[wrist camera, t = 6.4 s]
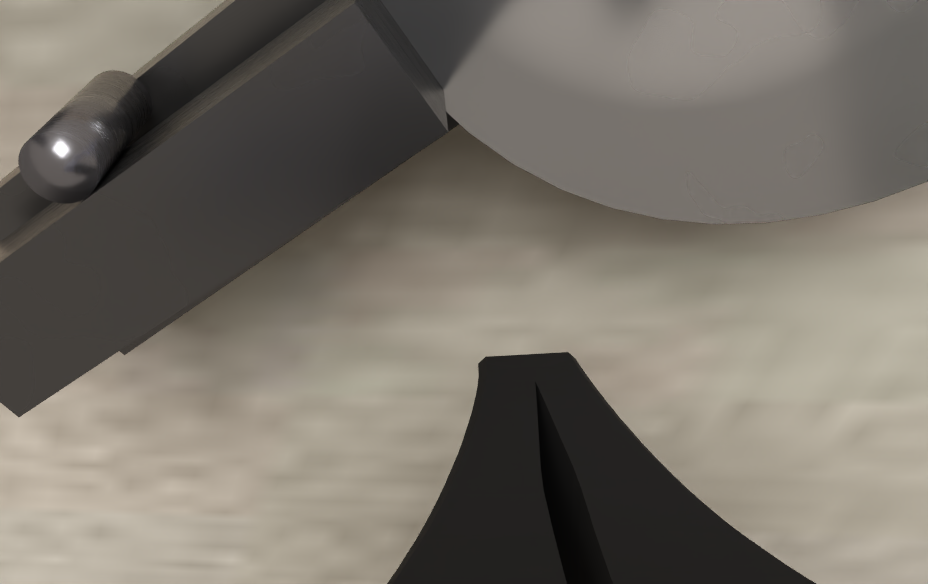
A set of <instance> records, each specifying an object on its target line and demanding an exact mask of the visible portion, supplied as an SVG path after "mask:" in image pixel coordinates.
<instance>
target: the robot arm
mask: <svg viewBox="0 0 928 584" xmlns="http://www.w3.org/2000/svg"><path fill="white" fill-rule="evenodd" d="M478 368H479V379H478V387H477V393H476V398H475V402H474V406H473V410H472V414H471V417H470V420H469V423H468V426H467V429H466V433H465V436H464V439H463V442H462V445H461V447H460V450H459V453H458V455H457V458H456V460H455V462H454V465H453V467H452V469H451V472H450V474H449V476H448V479H447V481H446V483H445V486H444V488H443V490H442V492H441V494H440V496H439V498H438V500H437V502H436V504H435V506H434V508H433V510H432V512H431V514H430V516H429V518H428V520H427V521H426V523H425V525H424V527H423V529H422V530H421V532H420V534H419V536H418V537H417V539H416V541H415V542H414V544H413V545H412V547H411V548H410V550H409V552H408V553H407V555H406V556H405V558H404V560H403V561H402V563H401V564H400V566H399V568H398V569H397V570H396V572H395V573H394V575H393V576H392V578H391V579H390V581H389V582H388V583H387V584H816V583H814V582H813V581H811V580H809V579H807V578H806V577H804V576H803V575H801V574H800V573H798V572H796V571H795V570H793V569H792V568H790V567H789V566H787V565H785V564H784V563H783V562H781V561H780V560H778V559H777V558H775V557H774V556H772V555H771V554H770V553H768V552H767V551H765V550H764V549H762V548H761V547H760V546H758V545H757V544H755V543H754V542H752V541H751V540H749V539H748V538H747V537H745V536H744V535H742V534H741V533H740V532H738V531H737V530H736V529H734V528H733V527H732V526H731V525H729V524H728V523H727V522H725V521H724V520H723V519H722V518H720V517H719V516H718V515H717V514H716V513H715V512H713V511H712V510H711V509H710V508H709V507H707V506H706V505H705V504H704V503H703V502H701V501H700V500H699V499H698V498H697V497H696V496H695V495H694V494H693V493H691V492H690V491H689V490H688V489H687V488H686V487H685V486H684V485H683V484H682V483H681V482H680V481H679V480H677V479H676V478H675V477H674V476H673V475H672V474H671V473H670V472H669V471H668V470H667V469H666V468H665V467H664V466H663V465H662V464H661V463H660V462H659V461H658V460H657V459H656V458H655V457H654V455H653V454H652V453H651V452H650V451H649V450H648V449H647V448H646V447H645V446H644V445H643V444H642V443H641V441H640V440H639V439H638V438H637V437H636V436H635V435H634V434H633V432H632V431H631V430H630V429H629V428H628V427H627V426H626V424H625V423H624V422H623V421H622V420H621V419H620V418H619V416H618V415H617V414H616V413H615V411H614V410H613V409H612V408H611V407H610V405H609V404H608V403H607V402H606V400H605V399H604V398H603V396H602V395H601V394H600V393H599V391H598V390H597V389H596V387H595V386H594V385H593V383H592V382H591V381H590V379H589V378H588V376H587V375H586V374H585V372H584V371H583V369H582V368H581V366H580V365H579V363H578V362H577V360H576V359H575V358H574V357H573V356H572V355H571V354H570V353H568V352H564V353H546V354H529V355H511V356H493V357H485V358H484V359H483V360H482V361H481V362H480V363H479V364H478Z"/></svg>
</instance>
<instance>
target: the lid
mask: <svg viewBox="0 0 928 584" xmlns="http://www.w3.org/2000/svg"><path fill="white" fill-rule="evenodd" d="M446 112H447V113H448V114H449V115H450V116H452V117H453V118H454V119H455V120H456V121H457V122H458V123H459V124H460V125H461V126H462V127H463V128H464V129H465V130H466V131H468V132H469V133H470V134H472V135H473V136H474V137H476V138H477V139H479V140H480V141H481V142H483V143H484V144H486V145H487V146H488V147H490V148H491V149H493V150H494V151H495V152H497V153H498V154H500V155H501V156H502V157H504V158H505V159H507V160H508V161H509V162H511V163H512V164H514V165H516V166H517V167H519V168H521V169H523V170H525V171H527V172H529V173H531V174H533V175H535V176H536V177H538V178H540V179H542V180H544V181H546V182H548V183H550V184H552V185H553V186H555V187H557V188H559V189H561V190H564V191H567V192H569V193H572V194H575V195H577V196H580V197H583V198H586V199H588V200H591V201H594V202H596V203H599V204H602V205H605V206H607V207H610V208H614V209H619V210H623V211H628V212H632V213H636V214H641V215H645V216H650V217H654V218H658V219H665V220H675V221H686V222H696V223H707V224H739V223H769V222H776V221H783V220H790V219H796V218H803V217H810V216H817V215H823V214H827V213H830V212H834V211H838V210H842V209H846V208H850V207H854V206H857V205H861V204H865V203H869V202H873V201H876V200H879V199H881V198H884V197H887V196H889V195H892V194H895V193H897V192H900V191H903V190H905V189H908V188H911V187H913V186H916V185H919V184H922V183H924V182H927V181H928V0H326V1H325V2H323V3H322V4H321V5H319V6H318V7H317V8H315V9H314V10H313V11H311V12H310V13H309V14H307V15H306V16H304V17H303V18H302V19H300V20H299V21H298V22H296V23H295V24H294V25H292V26H291V27H290V28H288V29H287V30H286V31H284V32H283V33H282V34H280V35H279V36H277V37H276V38H275V39H273V40H272V41H271V42H269V43H268V44H267V45H265V46H264V47H263V48H261V49H260V50H259V51H257V52H256V53H254V54H253V55H252V56H250V57H249V58H248V59H246V60H245V61H244V62H242V63H241V64H240V65H238V66H237V67H236V68H234V69H233V70H232V71H230V72H229V73H227V74H226V75H225V76H223V77H222V78H221V79H219V80H218V81H217V82H215V83H214V84H213V85H211V86H210V87H209V88H207V89H206V90H204V91H203V92H202V93H200V94H199V95H198V96H196V97H195V98H194V99H192V100H191V101H190V102H188V103H187V104H186V105H184V106H183V107H182V108H180V109H179V110H177V111H176V112H175V113H173V114H172V115H171V116H169V117H168V118H167V119H165V120H164V121H163V122H161V123H160V124H159V125H157V126H156V127H154V128H153V129H152V130H150V131H149V132H148V133H146V134H145V135H144V136H142V137H141V138H140V139H138V140H137V141H136V142H134V143H133V144H132V145H130V146H129V147H127V148H126V149H125V150H124V151H123V153H122V154H121V155H120V157H119V158H118V159H117V161H116V162H115V163H114V164H113V166H112V167H111V168H110V170H109V171H108V172H107V174H106V175H105V176H104V177H103V179H102V180H101V181H100V183H99V184H98V185H97V187H96V188H95V189H94V190H93V192H92V193H91V194H90V195H89V196H88V197H87V198H85V199H84V200H81V201H79V202H76V203H71V204H62V203H56V202H53V203H52V204H50V205H49V206H48V207H46V208H45V209H44V210H42V211H41V212H40V213H38V214H37V215H36V216H34V217H33V218H32V219H30V220H29V221H27V222H26V223H25V224H23V225H22V226H21V227H19V228H18V229H17V230H15V231H14V232H13V233H11V234H10V235H9V236H7V237H6V238H4V239H3V240H2V241H0V402H1V403H2V404H3V405H4V406H6V407H7V408H8V409H9V410H11V411H12V412H13V413H14V414H15V415H17V416H18V417H20V416H22V415H23V414H25V413H26V412H28V411H29V410H31V409H32V408H34V407H35V406H37V405H38V404H40V403H41V402H43V401H44V400H46V399H47V398H49V397H50V396H52V395H53V394H55V393H56V392H58V391H59V390H61V389H62V388H64V387H65V386H67V385H68V384H70V383H71V382H73V381H74V380H76V379H77V378H79V377H80V376H82V375H83V374H85V373H86V372H88V371H89V370H91V369H92V368H94V367H95V366H97V365H98V364H100V363H101V362H103V361H104V360H106V359H107V358H109V357H110V356H112V355H113V354H115V353H116V352H118V351H119V350H121V349H123V348H124V347H126V346H127V345H129V344H130V343H132V342H133V341H135V340H136V339H138V338H139V337H141V336H142V335H144V334H145V333H147V332H148V331H150V330H151V329H153V328H154V327H156V326H157V325H159V324H160V323H162V322H163V321H165V320H166V319H168V318H169V317H171V316H172V315H174V314H175V313H177V312H178V311H180V310H181V309H183V308H184V307H186V306H187V305H189V304H190V303H192V302H193V301H195V300H196V299H198V298H199V297H201V296H202V295H204V294H205V293H207V292H208V291H210V290H211V289H213V288H214V287H216V286H217V285H219V284H220V283H222V282H223V281H225V280H226V279H228V278H229V277H231V276H232V275H234V274H235V273H237V272H238V271H240V270H241V269H243V268H244V267H246V266H247V265H249V264H250V263H252V262H253V261H255V260H256V259H258V258H259V257H261V256H262V255H264V254H265V253H267V252H269V251H270V250H272V249H273V248H275V247H276V246H278V245H279V244H281V243H282V242H284V241H285V240H287V239H288V238H290V237H291V236H293V235H294V234H296V233H297V232H299V231H300V230H302V229H303V228H305V227H306V226H308V225H309V224H311V223H312V222H314V221H315V220H317V219H318V218H320V217H321V216H323V215H324V214H326V213H327V212H329V211H330V210H332V209H333V208H335V207H336V206H338V205H339V204H341V203H342V202H344V201H345V200H347V199H348V198H350V197H351V196H353V195H354V194H356V193H357V192H359V191H360V190H362V189H363V188H365V187H366V186H368V185H369V184H371V183H372V182H374V181H375V180H377V179H378V178H380V177H381V176H383V175H384V174H386V173H387V172H389V171H390V170H392V169H393V168H395V167H396V166H398V165H399V164H401V163H402V162H404V161H405V160H407V159H408V158H410V157H411V156H413V155H415V154H416V153H418V152H419V151H421V150H422V149H424V148H425V147H427V146H428V145H430V144H431V143H433V142H434V141H436V140H437V139H439V138H440V137H442V136H443V135H445V134H446V133H448V125H447V115H446Z"/></svg>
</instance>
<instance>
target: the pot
mask: <svg viewBox="0 0 928 584" xmlns="http://www.w3.org/2000/svg"><path fill="white" fill-rule="evenodd" d="M325 1H326V0H225V1H224V2H223V3H222V4H220V5H219V6H218V7H217V8H215V9H214V10H213V11H212V12H210V13H209V14H208V15H207V16H205V17H204V18H203V19H202V20H200V21H199V22H198V23H197V24H195V25H194V26H193V27H192V28H190V29H189V30H188V31H187V32H185V33H184V34H183V35H182V36H180V37H179V38H178V39H177V40H175V41H174V42H173V43H172V44H170V45H169V46H168V47H167V48H165V49H164V50H163V51H162V52H160V53H159V54H158V55H157V56H155V57H154V58H153V59H152V60H150V61H149V62H148V63H147V64H145V65H144V66H143V67H142V68H140V69H139V70H138V71H137V72H135V73H134V74H133V75H130V74H128V73H125V72H121V71H106V72H102V73H100V74H98V75H97V76H96V77H94V78H93V79H92V80H91V81H90V82H89V83H88V84H87V85H86V86H85V87H84V88H83V89H82V90H81V91H80V92H79V93H78V94H77V95H75V96H74V97H73V98H72V99H71V100H70V101H69V102H68V103H67V104H66V105H65V106H64V107H63V108H62V109H61V110H60V111H59V112H58V113H56V114H55V115H54V116H53V117H52V118H51V119H50V120H49V121H48V122H47V123H46V124H45V125H44V126H43V127H42V128H41V129H40V130H39V131H38V132H36V133H35V134H34V135H33V136H32V137H31V138H30V139H29V140H28V141H27V142H26V143H25V144H24V145H23V147H22V149H21V151H20V154H19V166H18V167H17V168H16V169H14V170H13V171H12V172H11V173H9V174H8V175H7V176H6V177H4V178H3V179H2V180H1V181H0V241H2V240H3V239H4V238H6V237H7V236H9V235H10V234H11V233H13V232H14V231H15V230H17V229H18V228H19V227H21V226H22V225H23V224H25V223H26V222H27V221H29V220H30V219H32V218H33V217H34V216H36V215H37V214H38V213H40V212H41V211H42V210H44V209H45V208H46V207H48V206H49V205H50V204H52V203H53V202H56V203H62V204H71V203H76V202H79V201H81V200H84V199H85V198H87V197H88V196H89V195H90V194H91V193H92V192H93V190H94V189H95V188H96V187H97V185H98V184H99V183H100V181H101V180H102V179H103V177H104V176H105V175H106V174H107V172H108V171H109V170H110V168H111V167H112V166H113V164H114V163H115V162H116V161H117V159H118V158H119V157H120V155H121V154H122V153H123V151H124V150H125V149H126V148H127V147H129V146H130V145H132V144H133V143H134V142H136V141H137V140H138V139H140V138H141V137H142V136H144V135H145V134H146V133H148V132H149V131H150V130H152V129H153V128H154V127H156V126H157V125H159V124H160V123H161V122H163V121H164V120H165V119H167V118H168V117H169V116H171V115H172V114H173V113H175V112H176V111H177V110H179V109H180V108H182V107H183V106H184V105H186V104H187V103H188V102H190V101H191V100H192V99H194V98H195V97H196V96H198V95H199V94H200V93H202V92H203V91H204V90H206V89H207V88H209V87H210V86H211V85H213V84H214V83H215V82H217V81H218V80H219V79H221V78H222V77H223V76H225V75H226V74H227V73H229V72H230V71H232V70H233V69H234V68H236V67H237V66H238V65H240V64H241V63H242V62H244V61H245V60H246V59H248V58H249V57H250V56H252V55H253V54H254V53H256V52H257V51H259V50H260V49H261V48H263V47H264V46H265V45H267V44H268V43H269V42H271V41H272V40H273V39H275V38H276V37H277V36H279V35H280V34H282V33H283V32H284V31H286V30H287V29H288V28H290V27H291V26H292V25H294V24H295V23H296V22H298V21H299V20H300V19H302V18H303V17H304V16H306V15H307V14H309V13H310V12H311V11H313V10H314V9H315V8H317V7H318V6H319V5H321V4H322V3H323V2H325ZM446 115H447V125H448V131H450V130H451V129H453V128H454V127H456V126H457V125H458V124H459V123H458V122H457V121H456V120H455V119H454V118H453V117H452V116H450V115H449V114H448V113H447V112H446ZM413 156H414V155H413ZM411 157H412V156H411ZM411 157H410V158H411ZM408 159H409V158H408ZM408 159H407V160H408ZM405 161H406V160H405ZM405 161H404V162H405ZM402 163H403V162H402ZM402 163H401V164H402ZM399 165H400V164H399ZM399 165H398V166H399ZM398 166H396V167H398ZM396 167H395V168H396ZM395 168H393V169H395ZM393 169H392V170H393ZM392 170H390V171H392ZM390 171H389V172H390ZM389 172H387V173H389ZM387 173H386V174H387ZM386 174H384V175H383V176H385V175H386ZM383 176H381V177H380V178H382V177H383ZM380 178H378V179H377V180H379V179H380ZM377 180H375V181H374V182H376V181H377ZM374 182H372V183H371V184H369V185H368V186H366V187H365V188H363V189H362V190H360V191H359V192H357V193H356V194H354V195H353V196H351V197H350V198H348V199H347V200H345V201H344V202H342V203H341V204H339V205H338V206H336V207H335V208H333V209H332V210H330V211H329V212H327V213H326V214H324V215H323V216H321V217H320V218H318V219H317V220H315V221H314V222H312V223H311V224H309V225H308V226H306V227H305V228H303V229H302V230H300V231H299V232H297V233H296V234H294V235H293V236H291V237H290V238H288V239H287V240H285V241H284V242H282V243H281V244H279V245H278V246H276V247H275V248H273V249H272V250H270V251H269V252H267V253H265V254H264V255H262V256H261V257H259V258H258V259H256V260H255V261H253V262H252V263H250V264H249V265H247V266H246V267H244V268H243V269H241V270H240V271H238V272H237V273H235V274H234V275H232V276H231V277H229V278H228V279H226V280H225V281H223V282H222V283H220V284H219V285H217V286H216V287H214V288H213V289H211V290H210V291H208V292H207V293H205V294H204V295H202V296H201V297H199V298H198V299H196V300H195V301H193V302H192V303H190V304H189V305H187V306H186V307H184V308H183V309H181V310H180V311H178V312H177V313H175V314H174V315H172V316H171V317H169V318H168V319H166V320H165V321H163V322H162V323H160V324H159V325H157V326H156V327H154V328H153V329H151V330H150V331H148V332H147V333H145V334H144V335H142V336H141V337H139V338H138V339H136V340H135V341H133V342H132V343H130V344H129V345H127V346H126V347H124V348H123V349H121V350H119V351H120V352H121V353H123V354H124V355H125V354H127V353H128V352H130V351H131V350H133V349H134V348H135V347H137V346H138V345H140V344H141V343H143V342H144V341H146V340H147V339H148V338H150V337H151V336H153V335H154V334H156V333H157V332H159V331H160V330H161V329H163V328H164V327H166V326H167V325H169V324H170V323H172V322H173V321H175V320H176V319H177V318H179V317H180V316H182V315H183V314H185V313H186V312H188V311H189V310H190V309H192V308H193V307H195V306H196V305H198V304H199V303H201V302H202V301H203V300H205V299H206V298H208V297H209V296H211V295H212V294H214V293H215V292H217V291H218V290H219V289H221V288H222V287H224V286H225V285H227V284H228V283H230V282H231V281H232V280H234V279H235V278H237V277H238V276H240V275H241V274H243V273H244V272H246V271H247V270H248V269H250V268H251V267H253V266H254V265H256V264H257V263H259V262H260V261H261V260H263V259H264V258H266V257H267V256H269V255H270V254H272V253H273V252H274V251H276V250H277V249H279V248H280V247H282V246H283V245H285V244H286V243H288V242H289V241H290V240H292V239H293V238H295V237H296V236H298V235H299V234H301V233H302V232H303V231H305V230H306V229H308V228H309V227H311V226H312V225H314V224H315V223H316V222H318V221H319V220H321V219H322V218H324V217H325V216H327V215H328V214H330V213H331V212H332V211H334V210H335V209H337V208H338V207H340V206H341V205H343V204H344V203H345V202H347V201H348V200H350V199H351V198H353V197H354V196H356V195H357V194H358V193H360V192H361V191H363V190H364V189H366V188H367V187H369V186H370V185H372V184H373V183H374Z"/></svg>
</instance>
